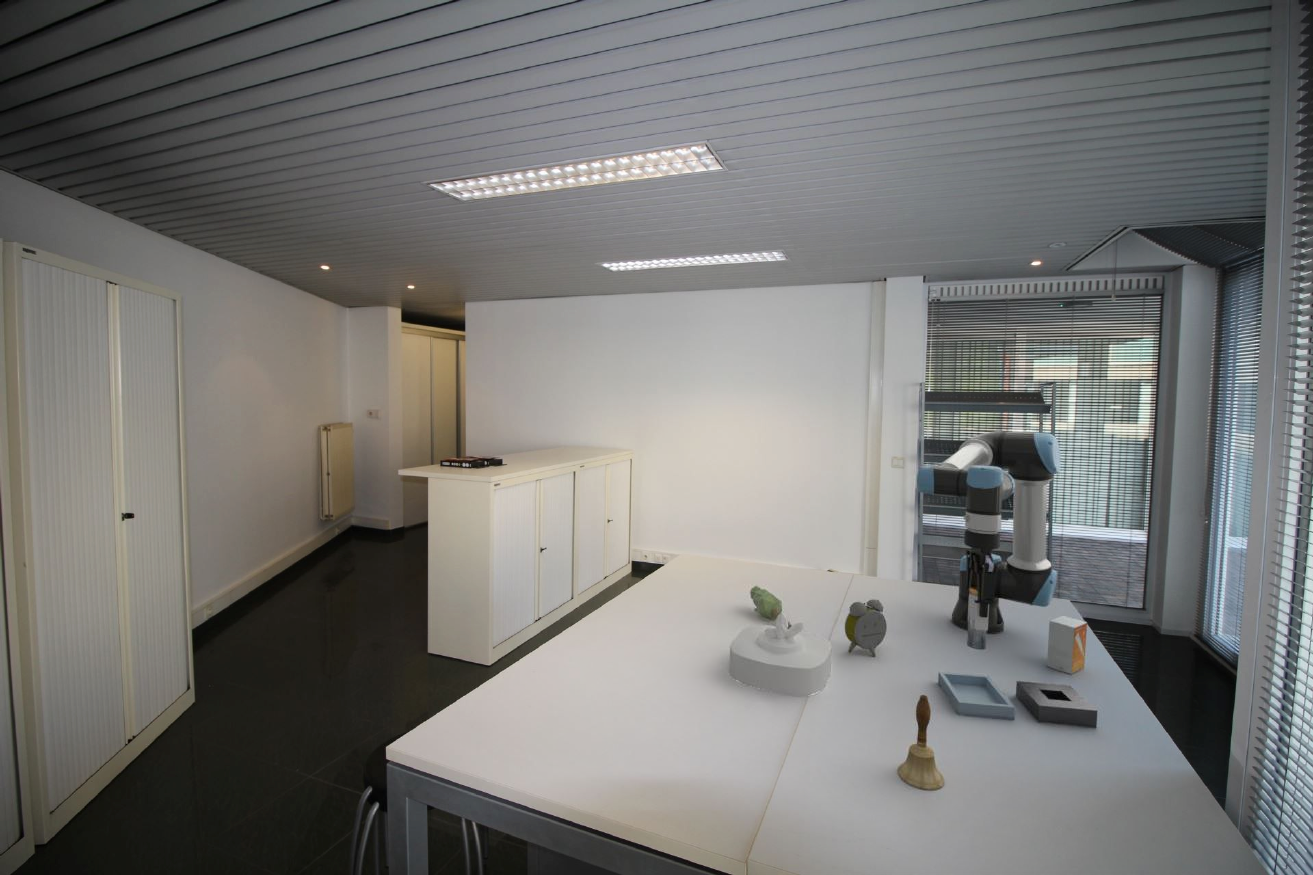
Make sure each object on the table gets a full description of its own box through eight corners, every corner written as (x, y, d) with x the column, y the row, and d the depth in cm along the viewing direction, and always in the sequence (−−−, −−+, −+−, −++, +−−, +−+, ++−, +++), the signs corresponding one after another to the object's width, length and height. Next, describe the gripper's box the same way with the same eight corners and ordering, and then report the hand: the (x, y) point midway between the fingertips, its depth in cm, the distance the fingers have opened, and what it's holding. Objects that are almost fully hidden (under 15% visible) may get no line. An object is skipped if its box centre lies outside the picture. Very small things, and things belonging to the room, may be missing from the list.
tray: (938, 682, 155) (938, 671, 154) (987, 687, 153) (988, 675, 152) (958, 714, 139) (959, 702, 139) (1014, 720, 137) (1015, 707, 137)
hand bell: (889, 764, 119) (893, 687, 118) (929, 762, 120) (932, 685, 119) (911, 791, 111) (914, 708, 110) (953, 789, 112) (957, 707, 111)
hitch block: (1015, 696, 148) (1016, 680, 148) (1068, 701, 146) (1069, 685, 146) (1038, 722, 136) (1039, 705, 136) (1096, 727, 134) (1097, 710, 134)
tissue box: (835, 663, 166) (837, 606, 165) (818, 703, 144) (820, 638, 143) (749, 645, 177) (750, 592, 176) (720, 680, 155) (721, 620, 154)
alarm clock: (873, 645, 178) (875, 595, 177) (890, 654, 172) (892, 603, 171) (842, 650, 174) (844, 600, 173) (858, 660, 167) (860, 608, 166)
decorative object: (806, 627, 189) (769, 588, 212) (790, 610, 185) (754, 572, 208) (785, 646, 189) (750, 605, 212) (769, 629, 185) (736, 588, 208)
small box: (1071, 675, 160) (1074, 627, 159) (1046, 666, 165) (1048, 620, 165) (1085, 668, 165) (1087, 621, 164) (1059, 659, 170) (1062, 614, 169)
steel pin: (982, 643, 146) (984, 587, 146) (988, 650, 142) (991, 592, 142) (964, 642, 147) (967, 586, 146) (970, 648, 143) (973, 591, 142)
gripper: (954, 522, 152) (949, 612, 153) (978, 537, 135) (973, 637, 137) (985, 524, 151) (981, 614, 152) (1014, 539, 134) (1008, 640, 135)
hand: (977, 625), depth 144 cm, fingers closed on steel pin, 4 cm apart
